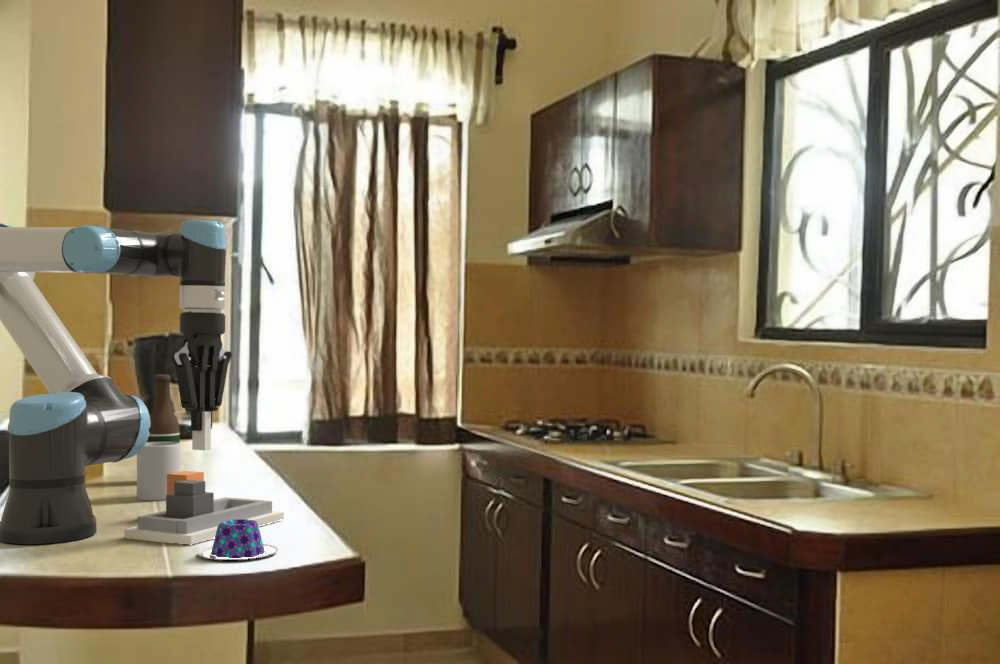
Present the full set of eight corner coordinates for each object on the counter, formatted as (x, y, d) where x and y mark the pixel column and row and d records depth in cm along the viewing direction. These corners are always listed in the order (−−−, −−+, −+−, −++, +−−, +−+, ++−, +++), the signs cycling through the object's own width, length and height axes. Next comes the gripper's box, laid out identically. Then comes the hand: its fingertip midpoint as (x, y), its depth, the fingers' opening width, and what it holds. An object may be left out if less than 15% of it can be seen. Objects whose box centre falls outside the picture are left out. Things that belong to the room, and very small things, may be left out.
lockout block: (186, 519, 195) (186, 475, 194) (166, 517, 197) (166, 473, 196) (203, 515, 199) (203, 472, 199) (184, 513, 201) (184, 470, 201)
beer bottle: (153, 485, 236) (152, 375, 236) (138, 481, 242) (138, 374, 242) (186, 482, 241) (186, 374, 241) (171, 478, 247) (171, 373, 247)
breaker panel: (191, 545, 171) (191, 523, 171) (124, 538, 177) (124, 516, 177) (283, 520, 193) (283, 501, 193) (221, 514, 199) (221, 495, 199)
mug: (178, 500, 216) (178, 445, 216) (133, 501, 214) (133, 446, 214) (184, 491, 228) (184, 439, 228) (142, 492, 226) (141, 440, 226)
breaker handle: (193, 527, 178) (193, 484, 178) (166, 524, 180) (166, 482, 180) (213, 522, 182) (213, 480, 182) (186, 519, 185) (186, 478, 185)
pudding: (231, 545, 173) (231, 512, 173) (294, 552, 168) (293, 518, 168) (180, 560, 162) (180, 525, 162) (246, 567, 157) (246, 531, 157)
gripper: (193, 311, 177) (192, 455, 177) (244, 312, 188) (243, 447, 189) (158, 310, 180) (157, 452, 180) (210, 311, 192) (209, 444, 192)
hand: (201, 449), depth 184 cm, fingers closed
